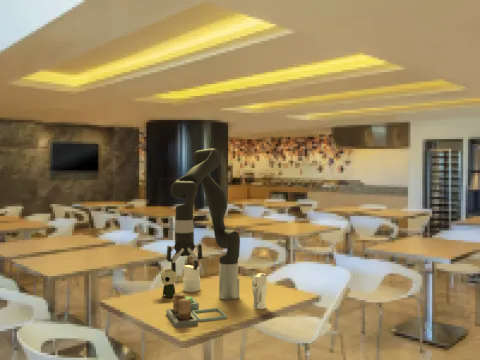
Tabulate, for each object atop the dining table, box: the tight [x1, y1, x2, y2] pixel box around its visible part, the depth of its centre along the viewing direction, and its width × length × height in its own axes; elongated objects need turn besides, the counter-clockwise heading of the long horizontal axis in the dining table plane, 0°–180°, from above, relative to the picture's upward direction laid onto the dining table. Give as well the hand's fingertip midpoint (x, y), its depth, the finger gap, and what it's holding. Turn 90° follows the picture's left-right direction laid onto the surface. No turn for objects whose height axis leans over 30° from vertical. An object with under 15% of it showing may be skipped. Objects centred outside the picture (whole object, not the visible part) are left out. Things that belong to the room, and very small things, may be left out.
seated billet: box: [172, 292, 186, 314], centre depth 194 cm, size 5×5×9 cm
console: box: [191, 297, 200, 312], centre depth 204 cm, size 8×8×4 cm
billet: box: [178, 299, 192, 321], centre depth 185 cm, size 5×5×9 cm
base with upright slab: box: [182, 264, 201, 293], centre depth 240 cm, size 9×9×12 cm
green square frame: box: [191, 307, 228, 323], centre depth 194 cm, size 12×12×2 cm
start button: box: [185, 296, 193, 303], centre depth 204 cm, size 4×4×5 cm
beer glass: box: [251, 272, 268, 310], centre depth 209 cm, size 7×7×15 cm
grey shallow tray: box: [165, 308, 199, 329], centre depth 189 cm, size 18×9×3 cm, turn 21°
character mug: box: [160, 268, 178, 298], centre depth 226 cm, size 11×7×13 cm, turn 54°
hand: (184, 270), depth 185 cm, fingers open, 8 cm apart
